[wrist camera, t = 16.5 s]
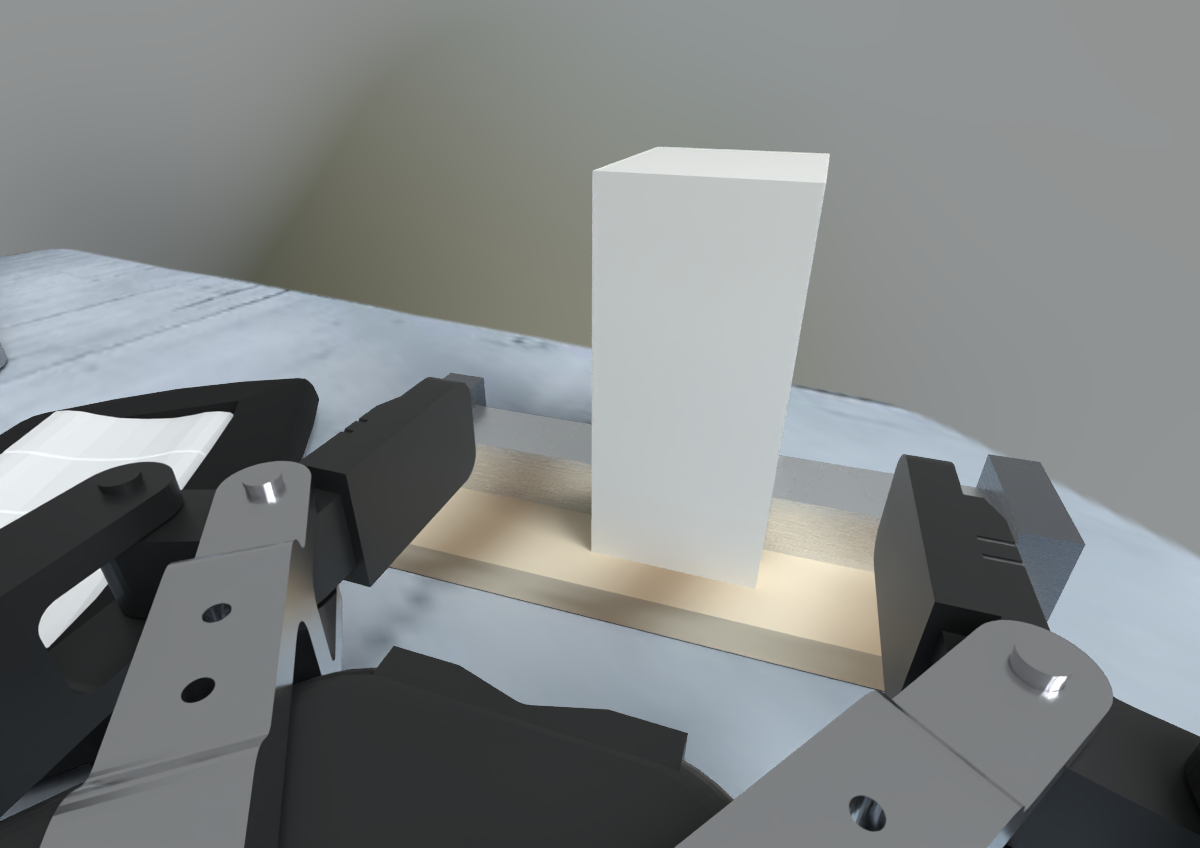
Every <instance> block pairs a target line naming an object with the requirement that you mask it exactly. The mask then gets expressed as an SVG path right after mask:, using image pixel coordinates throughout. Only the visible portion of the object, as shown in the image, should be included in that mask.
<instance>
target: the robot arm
mask: <svg viewBox="0 0 1200 848" xmlns="http://www.w3.org/2000/svg"><path fill="white" fill-rule="evenodd" d="M6 360H7V356H6V354H5V352H4V350H3V348H2V346H1V344H0V368H1V367H2V366H4V365H5V363H6ZM475 458H476V446H475V436H474V425H473V414H472V403H471V394H470V390H469V388H468V386H467V385H466V384H465V383H463V382H457V381H451V380H445V379H439V378H433V377H428V378H426V379H424V380H423V381H421V382H420V383H418V384H417V385H416V386H414V387H413V388H412V389H410V390H409V391H408V392H406V393H405V394H404V395H402V396H401V397H398V398H395V399H393V400H390V401H388V402H385V403H383V404H380V405H378V406H376V407H375V408H373V409H372V410H370V411H369V412H368V413H366V414H365V415H363V416H362V417H361V418H359V422H358V421H355V422H354V423H352V424H351V425H350V426H348V427H347V428H345V431H344V432H340V433H338V434H337V435H336V436H334V437H333V438H331V439H330V440H329V441H327V442H326V443H325V444H323V445H322V446H320V447H319V448H318V449H316V450H315V451H313V452H312V453H311V454H309V455H308V456H306V457H305V458H304V459H302V460H301V461H300V462H298V463H296V462H291V461H274V462H266V463H261V464H257V465H254V466H251V467H248V468H245V469H243V470H240V471H238V472H236V473H235V474H233V475H231V476H230V477H228V478H227V479H225V480H224V481H223V482H222V483H221V484H220V485H219V487H218V488H217V489H207V490H180V488H179V485H178V482H177V480H176V477H175V474H174V472H173V470H172V468H171V467H170V466H168V465H166V464H164V463H160V462H136V463H129V464H125V465H120V466H117V467H113V468H110V469H108V470H105V471H102V472H100V473H98V474H95V475H93V476H91V477H89V478H88V479H86V480H84V481H82V482H81V483H79V484H77V485H75V486H74V487H72V488H70V489H68V490H67V491H65V492H63V493H62V494H60V495H58V496H56V497H55V498H53V499H51V500H49V501H48V502H46V503H44V504H42V505H41V506H39V507H37V508H35V509H34V510H32V511H30V512H28V513H27V514H25V515H23V516H22V517H20V518H18V519H16V520H15V521H13V522H11V523H9V524H8V525H6V526H4V527H2V528H1V529H0V817H1V816H2V815H3V814H4V813H5V812H6V811H7V810H8V809H10V808H11V807H12V806H13V805H14V804H15V803H16V802H17V801H18V800H19V799H20V798H21V797H22V796H23V795H24V794H25V793H26V792H28V791H29V790H30V789H31V788H32V787H33V786H34V785H35V784H36V783H37V782H38V781H39V780H40V779H41V778H42V777H43V776H44V775H46V774H47V773H48V772H49V771H50V770H51V769H52V768H53V767H54V766H55V765H56V764H57V763H58V762H59V761H60V760H61V759H63V758H64V757H65V756H66V755H67V754H68V753H69V752H70V751H71V750H72V749H73V748H74V747H75V746H76V745H77V744H78V743H79V742H81V741H82V740H83V739H84V738H85V737H86V736H87V735H88V734H89V733H90V732H91V731H92V730H93V729H94V728H95V727H96V726H97V725H99V724H100V723H101V722H102V721H103V720H104V719H105V718H106V717H107V716H108V715H109V714H110V713H111V712H112V711H113V710H114V711H113V714H112V716H111V719H110V722H109V725H108V727H107V730H106V733H105V736H104V738H103V741H102V744H101V747H100V749H99V752H98V755H97V757H96V760H95V763H94V766H93V768H92V771H91V773H90V775H89V777H88V779H87V780H86V781H85V782H84V783H81V784H79V785H77V786H75V787H73V788H71V789H68V790H66V791H64V792H62V793H60V794H58V795H56V796H53V797H51V798H49V799H47V800H45V801H43V802H40V803H38V804H36V805H34V806H32V807H30V808H28V809H25V810H23V811H21V812H19V813H17V814H15V815H12V816H10V817H8V818H6V819H4V820H2V821H0V848H1200V736H1197V735H1195V734H1193V733H1191V732H1188V731H1186V730H1184V729H1182V728H1179V727H1177V726H1175V725H1173V724H1170V723H1168V722H1166V721H1164V720H1161V719H1159V718H1157V717H1155V716H1152V715H1150V714H1148V713H1146V712H1143V711H1141V710H1139V709H1137V708H1134V707H1132V706H1130V705H1128V704H1126V703H1124V702H1122V701H1120V700H1118V699H1116V698H1115V697H1113V693H1112V688H1111V685H1110V683H1109V680H1108V679H1107V677H1106V676H1105V674H1104V672H1103V671H1102V670H1101V669H1100V667H1099V666H1098V665H1097V664H1096V663H1095V662H1094V661H1093V660H1092V659H1091V658H1090V657H1089V656H1088V655H1087V654H1086V653H1085V652H1083V651H1082V650H1081V649H1079V648H1078V647H1077V646H1075V645H1074V644H1072V643H1071V642H1069V641H1068V640H1066V639H1064V638H1062V637H1061V636H1059V635H1057V634H1055V633H1053V632H1051V631H1050V629H1049V627H1048V624H1047V622H1046V619H1045V617H1044V614H1043V611H1042V609H1041V606H1040V604H1039V601H1038V599H1037V596H1036V594H1035V591H1034V589H1033V586H1032V584H1031V581H1030V579H1029V576H1028V574H1027V571H1026V569H1025V566H1022V562H1023V561H1022V559H1021V556H1020V553H1019V551H1018V548H1017V547H1015V541H1014V538H1013V536H1012V533H1011V531H1010V528H1009V526H1008V523H1007V521H1006V519H1005V518H1004V517H1003V516H1002V515H1001V514H1000V513H999V512H998V511H997V510H996V509H995V508H994V507H993V506H992V505H990V504H989V503H988V502H987V501H986V500H985V499H984V498H981V497H975V496H970V495H964V494H963V492H962V489H961V485H960V482H959V479H958V476H957V473H956V470H955V467H954V464H953V463H952V462H948V461H942V460H936V459H930V458H924V457H918V456H911V455H905V454H903V455H902V456H901V457H900V459H899V461H898V464H897V467H896V470H895V473H894V476H893V480H892V483H891V487H890V490H889V493H888V497H887V500H886V503H885V507H884V510H883V514H882V517H881V520H880V524H879V527H878V531H877V535H876V541H875V548H874V574H875V586H876V597H877V609H878V620H879V632H880V643H881V654H882V666H883V677H884V689H885V693H883V692H882V691H880V690H875V691H872V692H870V693H868V694H867V695H865V696H864V697H862V698H861V699H860V700H858V701H857V702H856V703H855V704H853V705H852V706H851V707H850V708H848V709H847V710H846V711H845V712H843V713H842V714H841V715H840V716H838V717H837V718H836V719H835V720H833V721H832V722H831V723H830V724H828V725H827V726H826V727H825V728H823V729H822V730H821V731H820V732H818V733H817V734H816V735H815V736H813V737H812V738H811V739H810V740H808V741H807V742H806V743H805V744H803V745H802V746H801V747H800V748H798V749H797V750H796V751H795V752H793V753H792V754H791V755H790V756H788V757H787V758H786V759H785V760H783V761H782V762H781V763H780V764H778V765H777V766H776V767H775V768H773V769H772V770H771V771H770V772H768V773H767V774H766V775H765V776H763V777H762V778H761V779H760V780H758V781H757V782H756V783H755V784H753V785H752V786H751V787H750V788H748V789H747V790H746V791H745V792H743V793H742V794H741V795H740V796H738V797H737V798H736V799H735V800H734V799H733V798H732V797H730V796H729V795H728V794H727V793H726V792H725V791H724V790H723V789H722V788H721V787H720V786H719V785H718V784H717V783H716V782H714V781H713V780H712V779H710V778H709V777H708V776H706V775H705V774H704V773H703V772H701V771H700V770H699V769H697V768H695V767H694V766H692V765H691V764H689V763H687V762H686V761H684V757H685V750H686V742H687V735H688V733H685V732H682V731H678V730H675V729H671V728H668V727H665V726H661V725H658V724H655V723H651V722H648V721H645V720H641V719H638V718H635V717H631V716H628V715H624V714H621V713H618V712H614V711H611V710H606V709H588V708H570V707H553V706H535V705H526V704H522V703H519V702H517V701H515V700H514V699H512V698H511V697H509V696H507V695H506V694H504V693H503V692H501V691H499V690H498V689H496V688H495V687H493V686H491V685H490V684H488V683H487V682H485V681H483V680H482V679H480V678H479V677H477V676H475V675H474V674H472V673H471V672H469V671H467V670H466V669H464V668H463V667H461V666H459V665H456V664H453V663H450V662H446V661H443V660H440V659H436V658H433V657H429V656H426V655H423V654H419V653H416V652H413V651H409V650H406V649H403V648H399V647H396V646H393V648H392V649H391V650H390V652H389V653H388V654H387V656H386V657H385V658H384V659H383V661H382V662H381V663H380V665H379V666H378V667H377V668H363V669H350V670H344V671H342V597H341V593H340V589H339V584H340V583H341V581H342V580H346V581H350V582H353V583H357V584H361V585H364V586H368V587H371V586H372V585H373V584H374V583H375V581H376V580H377V579H378V578H379V577H380V576H381V575H382V574H383V573H384V572H385V570H386V569H387V568H388V567H389V566H390V565H391V564H392V563H393V562H394V560H395V559H396V558H397V557H398V556H399V555H400V554H401V553H402V552H403V551H404V549H405V548H406V547H407V546H408V545H409V544H410V543H411V542H412V541H413V540H414V538H415V537H416V536H417V535H418V534H419V533H420V532H421V531H422V530H423V529H424V527H425V526H426V525H427V524H428V523H429V522H430V521H431V520H432V519H433V517H434V516H435V515H436V514H437V513H438V512H439V511H440V510H441V509H442V508H443V506H444V505H445V504H446V503H447V502H448V501H449V500H450V499H451V498H452V497H453V495H454V494H455V493H456V492H457V491H458V490H459V489H460V488H461V487H462V485H463V484H464V483H465V482H466V481H467V480H468V478H469V477H470V475H471V473H472V470H473V467H474V464H475ZM100 568H101V571H102V573H103V575H104V577H105V579H106V581H107V583H108V585H109V587H110V589H111V591H112V593H113V595H114V597H115V600H114V601H113V602H111V603H110V604H109V605H107V606H106V607H105V608H104V609H102V610H101V611H100V612H98V613H97V614H96V615H95V616H93V617H92V618H91V619H89V620H88V621H87V622H86V623H84V624H83V625H82V626H80V627H79V628H78V629H77V630H75V631H74V632H73V633H72V634H70V635H69V636H68V637H66V638H65V639H64V640H63V641H61V642H60V643H59V644H57V645H56V646H55V647H54V648H52V649H51V650H50V651H47V649H46V647H45V645H44V644H43V642H42V640H41V639H40V636H39V632H38V629H39V623H40V620H41V617H42V615H43V614H44V612H45V611H46V609H47V608H48V607H49V606H50V605H51V604H52V603H53V602H54V601H55V600H56V599H58V598H59V597H61V596H62V595H63V594H65V593H66V592H68V591H69V590H70V589H72V588H73V587H75V586H76V585H77V584H79V583H80V582H82V581H83V580H84V579H86V578H87V577H89V576H90V575H91V574H93V573H94V572H96V571H97V570H98V569H100Z"/></svg>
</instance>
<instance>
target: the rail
mask: <svg viewBox="0 0 1200 848" xmlns="http://www.w3.org/2000/svg"><path fill="white" fill-rule="evenodd" d="M444 379H445V380H451V381H457V382H463V383H465V384H466V385H467V386H468V388H469V390H470V394H471V403H472V414H473V425H474V436H475V446H476V458H475V464H474V467H473V470H472V473H471V475H470V477H469V478H468V480H467V481H466V482H465V483H464V484H463V485H462V487H461V488H465V489H470V490H475V491H479V492H484V493H489V494H494V495H499V496H504V497H509V498H514V499H518V500H523V501H528V502H533V503H538V504H543V505H548V506H553V507H557V508H562V509H567V510H572V511H577V512H582V513H587V514H592V424H587V423H581V422H575V421H569V420H563V419H557V418H551V417H545V416H538V415H532V414H526V413H520V412H514V411H508V410H502V409H496V408H490V407H486V400H485V389H484V378H481V377H474V376H467V375H461V374H454V373H450V374H449V375H448V376H446V377H445V378H444ZM893 476H894V474H890V473H884V472H878V471H872V470H866V469H860V468H854V467H848V466H842V465H836V464H830V463H824V462H817V461H811V460H805V459H799V458H793V457H787V456H781V455H779V458H778V464H777V469H776V475H775V481H774V487H773V493H772V498H771V504H770V510H769V516H768V521H767V527H766V533H765V539H764V545H763V550H767V551H772V552H777V553H782V554H787V555H791V556H796V557H801V558H806V559H811V560H816V561H821V562H826V563H830V564H835V565H840V566H845V567H850V568H855V569H860V570H865V571H869V572H874V548H875V541H876V535H877V531H878V527H879V524H880V520H881V517H882V514H883V510H884V507H885V503H886V500H887V497H888V493H889V490H890V487H891V483H892V480H893ZM961 489H962V492H963V494H964V495H970V496H975V497H981V498H984V499H985V500H986V501H987V502H988V503H989V504H990V505H992V506H993V507H994V508H995V509H996V510H997V511H998V512H999V513H1000V514H1001V515H1002V516H1003V517H1004V518H1005V519H1006V521H1007V523H1008V526H1009V528H1010V531H1011V533H1012V536H1013V538H1014V541H1015V547H1017V548H1018V551H1019V553H1020V556H1021V559H1022V561H1023V562H1022V566H1025V569H1026V571H1027V574H1028V576H1029V579H1030V581H1031V584H1032V586H1033V589H1034V591H1035V594H1036V596H1037V599H1038V601H1039V604H1040V606H1041V609H1042V611H1043V614H1044V617H1045V619H1046V622H1047V621H1048V619H1049V617H1050V615H1051V613H1052V611H1053V609H1054V607H1055V605H1056V603H1057V601H1058V599H1059V597H1060V595H1061V593H1062V591H1063V589H1064V587H1065V585H1066V582H1067V580H1068V578H1069V576H1070V574H1071V572H1072V570H1073V568H1074V566H1075V564H1076V562H1077V560H1078V558H1079V556H1080V554H1081V552H1082V550H1083V548H1084V546H1085V543H1084V541H1083V539H1082V538H1081V536H1080V534H1079V532H1078V530H1077V528H1076V527H1075V525H1074V523H1073V521H1072V519H1071V517H1070V516H1069V514H1068V512H1067V510H1066V508H1065V507H1064V505H1063V503H1062V501H1061V499H1060V497H1059V496H1058V494H1057V492H1056V490H1055V488H1054V487H1053V485H1052V483H1051V481H1050V479H1049V477H1048V476H1047V474H1046V472H1045V470H1044V468H1043V467H1042V465H1041V463H1040V462H1035V461H1028V460H1022V459H1015V458H1009V457H1002V456H995V455H989V454H988V457H987V460H986V462H985V465H984V468H983V471H982V473H981V476H980V479H979V482H978V484H977V487H976V488H975V487H969V486H963V485H961Z"/></svg>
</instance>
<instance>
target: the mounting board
mask: <svg viewBox="0 0 1200 848" xmlns="http://www.w3.org/2000/svg"><path fill="white" fill-rule="evenodd" d="M591 518H592V514H587V513H582V512H577V511H572V510H567V509H562V508H557V507H553V506H548V505H543V504H538V503H533V502H528V501H523V500H518V499H514V498H509V497H504V496H499V495H494V494H489V493H484V492H479V491H475V490H470V489H465V488H460V489H459V490H458V491H457V492H456V493H455V494H454V495H453V497H452V498H451V499H450V500H449V501H448V502H447V503H446V504H445V505H444V506H443V508H442V509H441V510H440V511H439V512H438V513H437V514H436V515H435V516H434V517H433V519H432V520H431V521H430V522H429V523H428V524H427V525H426V526H425V527H424V529H423V530H422V531H421V532H420V533H419V534H418V535H417V536H416V537H415V538H414V540H413V541H412V542H411V543H410V544H409V545H408V546H407V547H406V548H405V549H404V551H403V552H402V553H401V554H400V555H399V556H398V557H397V558H396V559H395V560H394V562H393V563H392V564H391V565H390V566H389V567H392V568H396V569H400V570H404V571H408V572H412V573H416V574H420V575H424V576H428V577H432V578H436V579H440V580H444V581H448V582H452V583H456V584H460V585H464V586H468V587H472V588H476V589H480V590H484V591H488V592H492V593H496V594H500V595H504V596H508V597H512V598H516V599H520V600H524V601H528V602H532V603H536V604H540V605H543V606H547V607H551V608H555V609H559V610H563V611H567V612H571V613H575V614H579V615H583V616H587V617H591V618H595V619H599V620H603V621H607V622H611V623H615V624H619V625H623V626H627V627H631V628H635V629H639V630H643V631H647V632H651V633H655V634H659V635H663V636H667V637H671V638H675V639H679V640H683V641H687V642H691V643H695V644H699V645H703V646H707V647H711V648H715V649H719V650H723V651H727V652H731V653H735V654H739V655H743V656H747V657H751V658H754V659H758V660H762V661H766V662H770V663H774V664H778V665H782V666H786V667H790V668H794V669H798V670H802V671H806V672H810V673H814V674H818V675H822V676H826V677H830V678H834V679H838V680H842V681H846V682H850V683H854V684H858V685H862V686H866V687H870V688H874V689H878V690H882V691H885V689H884V677H883V666H882V654H881V643H880V632H879V620H878V609H877V597H876V586H875V574H874V572H869V571H865V570H860V569H855V568H850V567H845V566H840V565H835V564H830V563H826V562H821V561H816V560H811V559H806V558H801V557H796V556H791V555H787V554H782V553H777V552H772V551H767V550H762V556H761V562H760V568H759V573H758V579H757V585H756V589H752V588H747V587H743V586H739V585H734V584H730V583H726V582H721V581H717V580H713V579H708V578H704V577H699V576H695V575H691V574H686V573H682V572H678V571H673V570H669V569H665V568H660V567H656V566H652V565H647V564H643V563H639V562H634V561H630V560H626V559H621V558H617V557H613V556H608V555H604V554H600V553H595V552H591Z"/></svg>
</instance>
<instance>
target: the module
mask: <svg viewBox="0 0 1200 848" xmlns="http://www.w3.org/2000/svg"><path fill="white" fill-rule="evenodd" d="M829 156H830V154H824V153H799V152H775V151H751V150H727V149H702V148H678V147H656V148H653V149H650V150H648V151H645V152H642V153H640V154H637V155H634V156H631V157H629V158H626V159H623V160H620V161H618V162H615V163H612V164H609V165H607V166H604V167H601V168H598V169H596V170H593V184H592V187H593V189H592V191H593V192H592V197H593V198H592V199H593V200H592V214H593V215H592V518H591V552H595V553H600V554H604V555H608V556H613V557H617V558H621V559H626V560H630V561H634V562H639V563H643V564H647V565H652V566H656V567H660V568H665V569H669V570H673V571H678V572H682V573H686V574H691V575H695V576H699V577H704V578H708V579H713V580H717V581H721V582H726V583H730V584H734V585H739V586H743V587H747V588H752V589H756V585H757V579H758V573H759V568H760V562H761V556H762V550H763V545H764V539H765V533H766V527H767V521H768V516H769V510H770V504H771V498H772V493H773V487H774V481H775V475H776V469H777V464H778V458H779V452H780V446H781V441H782V435H783V429H784V423H785V417H786V412H787V406H788V400H789V394H790V389H791V383H792V377H793V371H794V365H795V359H796V354H797V347H798V342H799V337H800V331H801V325H802V319H803V313H804V307H805V301H806V296H807V290H808V284H809V279H810V273H811V267H812V261H813V256H814V250H815V244H816V238H817V233H818V227H819V220H820V215H821V209H822V204H823V198H824V192H825V186H826V180H827V172H828V164H829Z"/></svg>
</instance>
